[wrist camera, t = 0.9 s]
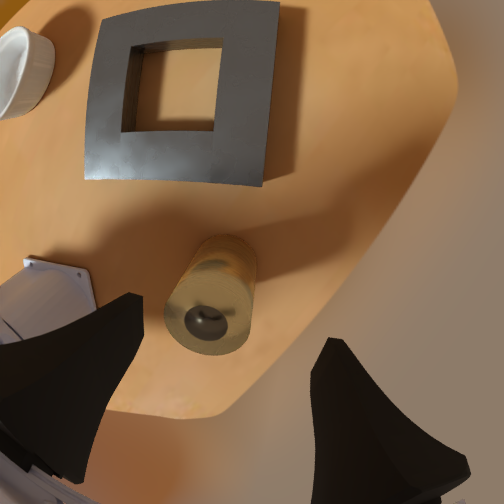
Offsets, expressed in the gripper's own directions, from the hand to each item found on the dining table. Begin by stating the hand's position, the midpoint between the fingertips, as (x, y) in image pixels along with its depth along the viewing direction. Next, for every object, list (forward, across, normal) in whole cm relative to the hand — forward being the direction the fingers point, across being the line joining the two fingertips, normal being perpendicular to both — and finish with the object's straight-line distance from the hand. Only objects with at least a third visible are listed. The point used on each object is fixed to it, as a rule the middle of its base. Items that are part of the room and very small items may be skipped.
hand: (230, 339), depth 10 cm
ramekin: (+10, +23, -12) cm, 28 cm away
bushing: (+10, +2, +2) cm, 10 cm away
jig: (+10, +7, -10) cm, 15 cm away
